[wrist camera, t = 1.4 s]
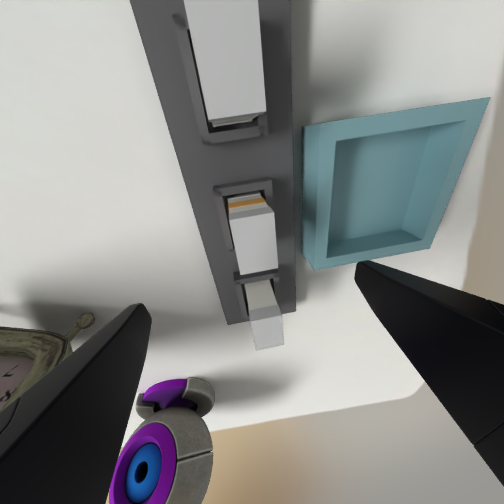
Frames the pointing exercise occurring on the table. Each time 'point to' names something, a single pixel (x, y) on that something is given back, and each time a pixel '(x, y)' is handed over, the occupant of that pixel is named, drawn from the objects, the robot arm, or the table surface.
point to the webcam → (167, 447)
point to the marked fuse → (253, 232)
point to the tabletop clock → (31, 356)
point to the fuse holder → (228, 145)
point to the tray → (382, 180)
